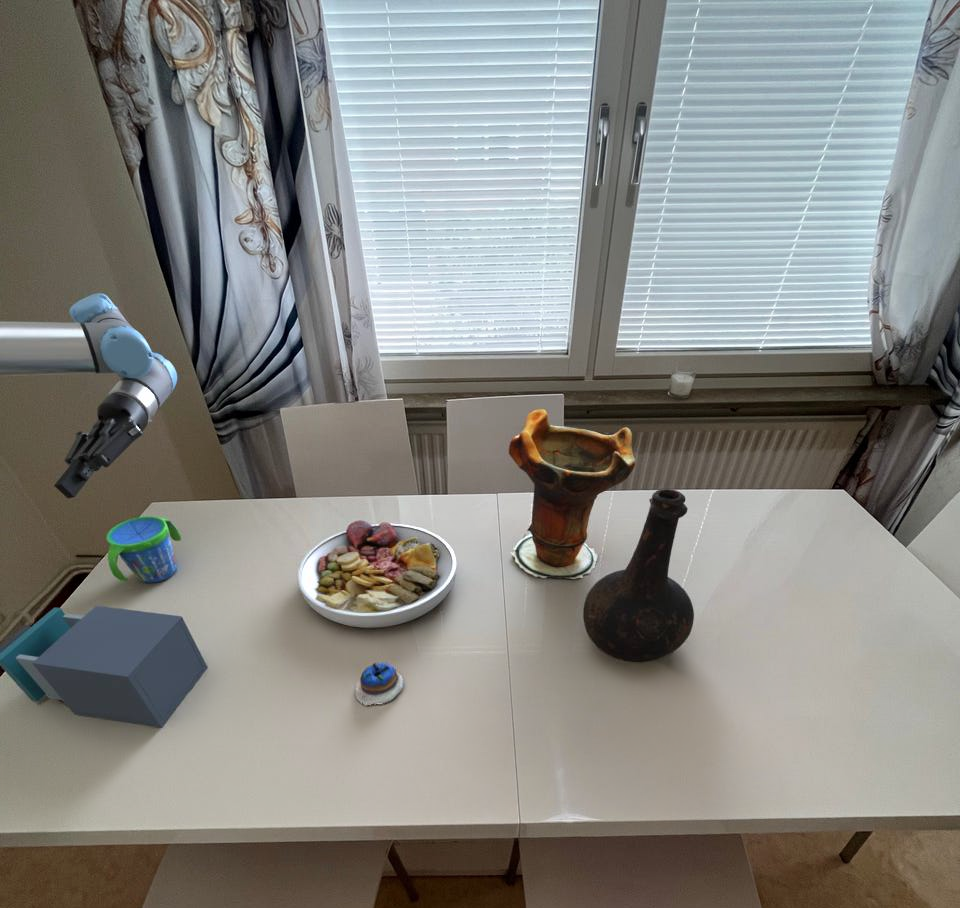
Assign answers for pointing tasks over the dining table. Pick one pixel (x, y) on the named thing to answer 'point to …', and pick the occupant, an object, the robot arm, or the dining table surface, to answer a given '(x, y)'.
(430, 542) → the bowl
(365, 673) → the dessert
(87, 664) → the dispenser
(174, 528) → the snack cup
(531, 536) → the decorative vase
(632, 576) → the glass bottle
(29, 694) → the drawer
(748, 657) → the dining table surface
